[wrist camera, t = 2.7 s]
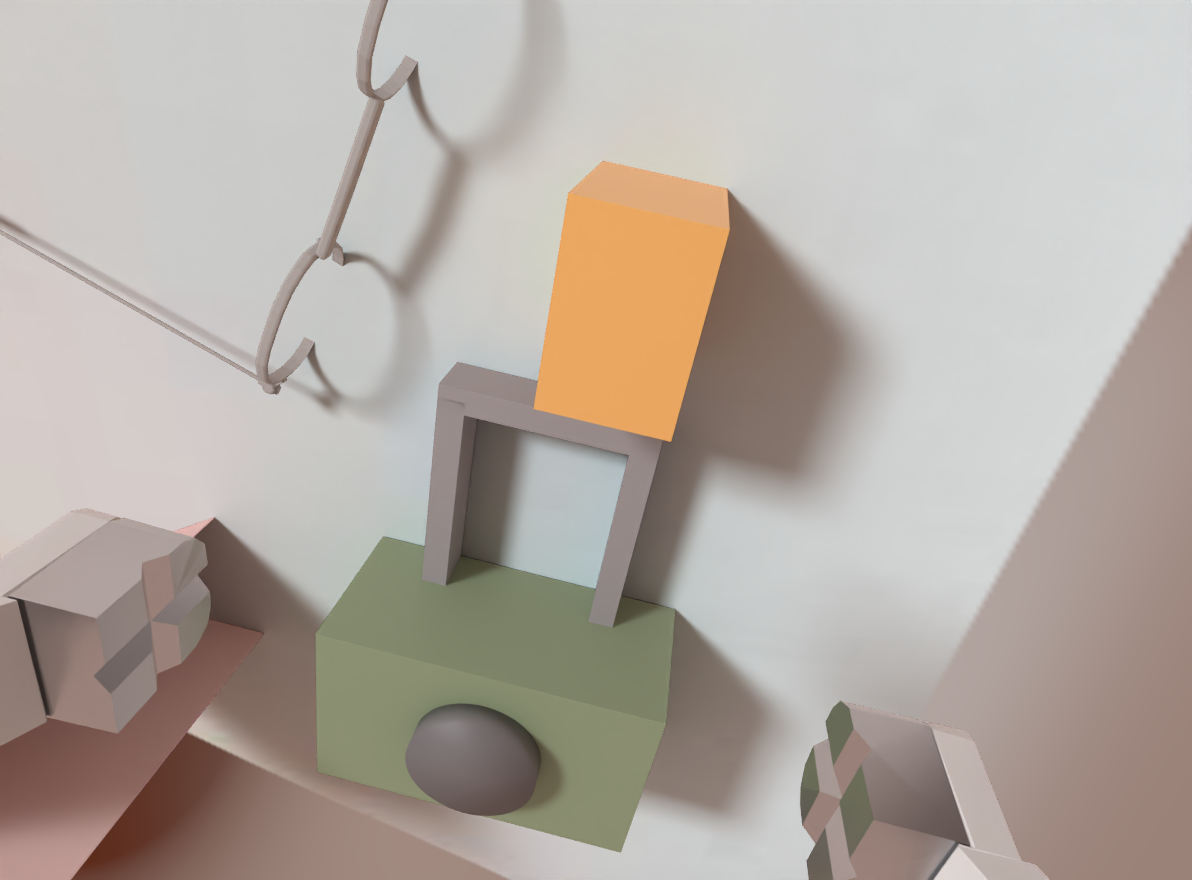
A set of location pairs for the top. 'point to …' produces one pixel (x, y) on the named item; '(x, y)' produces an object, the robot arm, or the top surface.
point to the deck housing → (499, 652)
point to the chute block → (630, 297)
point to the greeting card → (102, 761)
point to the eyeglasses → (335, 217)
